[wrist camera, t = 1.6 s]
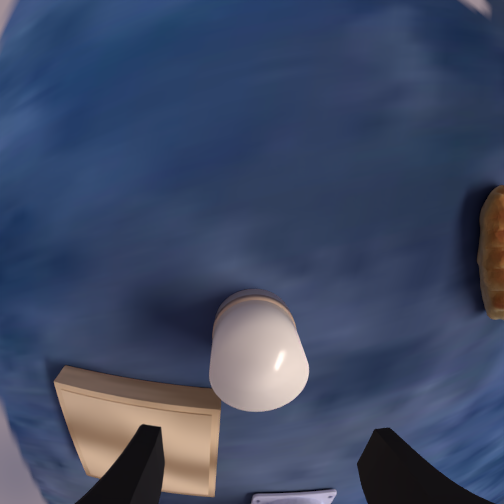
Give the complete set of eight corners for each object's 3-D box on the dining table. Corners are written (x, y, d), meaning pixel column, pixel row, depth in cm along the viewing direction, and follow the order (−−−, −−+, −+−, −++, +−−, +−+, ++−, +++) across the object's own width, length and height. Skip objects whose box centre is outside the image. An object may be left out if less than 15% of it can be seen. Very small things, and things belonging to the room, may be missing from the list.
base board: (214, 479, 22) (214, 498, 20) (92, 459, 21) (86, 475, 19) (221, 389, 19) (220, 411, 17) (65, 365, 19) (52, 382, 17)
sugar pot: (285, 358, 19) (299, 412, 14) (211, 353, 19) (206, 409, 14) (297, 291, 18) (319, 336, 13) (216, 284, 18) (210, 329, 13)
